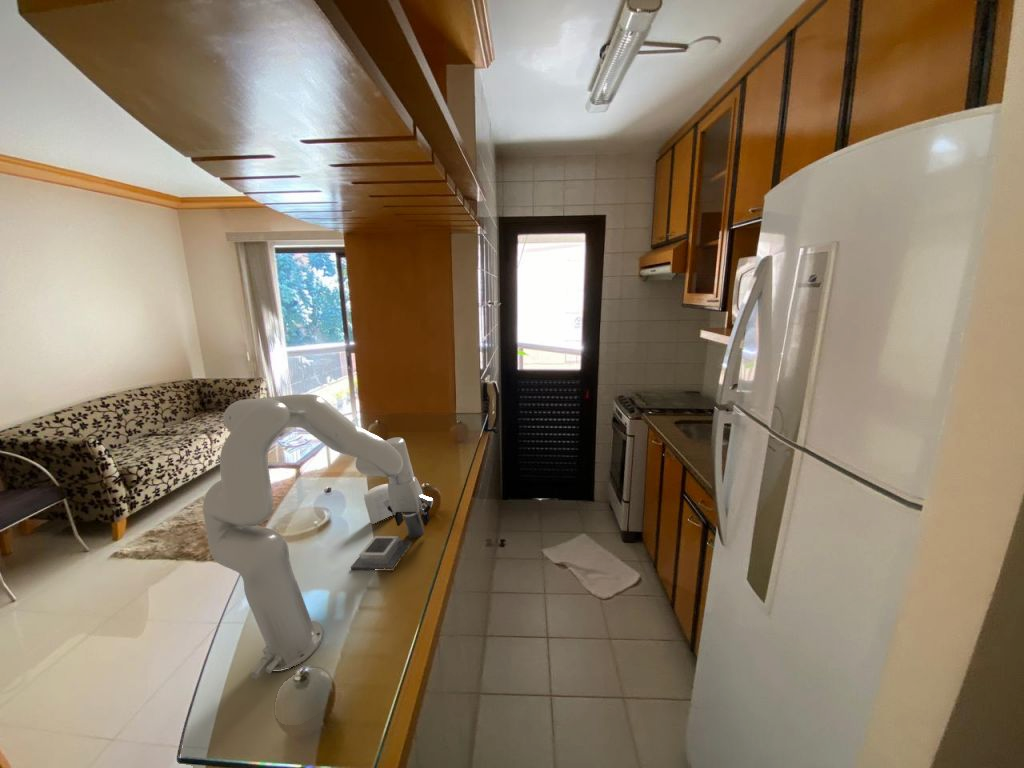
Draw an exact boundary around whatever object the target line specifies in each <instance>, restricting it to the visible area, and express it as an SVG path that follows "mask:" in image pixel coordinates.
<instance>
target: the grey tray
mask: <svg viewBox="0 0 1024 768" xmlns="http://www.w3.org/2000/svg"><path fill="white" fill-rule="evenodd" d="M411 543H412V544H413V540H400V536H398V535H375V536H374V537H373V538H372V539H371V540H370V541H369V542H368V544H367V545H366V546H365V547H364V548H363V549H362V551H361V552H360V553H359V556H358V558H357V559H356V560H355V561H354V563H352V565H351V566H350V570H351V571H370V570H375V569H384V568H385V569H393V568H394V566H395V565H396V563H397V562H398V561H399V559H400V558H401V557H402V555H403V554H404V553H405V551H406V550H407V549H408V547H409V546H410V545H411ZM411 546H412V545H411ZM411 546H410V547H411ZM410 547H409V548H410ZM408 550H409V549H408ZM408 550H407V551H408ZM405 554H406V553H405Z"/></svg>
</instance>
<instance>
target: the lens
mask: <svg viewBox="0 0 1024 768" xmlns="http://www.w3.org/2000/svg"><path fill="white" fill-rule="evenodd" d="M420 513H421V512H420V511H416V512H402V516H403V519H404V523H405V528H406V530H407V533H408V537H409V538H410V537H412V538H411V539H417V538H419V536H420V537H421V536H422V535H423V534H424V533H425V529H424V524H423V520H422V516H421V514H420ZM416 537H417V538H416Z"/></svg>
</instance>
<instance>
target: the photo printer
mask: <svg viewBox="0 0 1024 768" xmlns="http://www.w3.org/2000/svg"><path fill="white" fill-rule="evenodd" d="M363 496H364V497H363V499H364V504H365V507H366V510H367V514H368V518H369V522H370V523H371V525H375V523H376V524H378V523H379V522H378V521H380V520H383V519H385V518H387V517H389V516H392V512H390V511H389V510H388V509H387V507H386V506H385V505H384V501H385V500H387V499H388V498H389V495H388V483H385V484H384V483H383V484H380V485H377V486H374V487H373V488H370V489H369V490H367V491H366V492H365V493H363ZM392 517H393V516H392ZM387 519H388V518H387ZM385 520H386V519H385ZM383 521H384V520H383ZM377 522H378V523H377Z"/></svg>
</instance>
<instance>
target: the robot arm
mask: <svg viewBox="0 0 1024 768" xmlns="http://www.w3.org/2000/svg"><path fill="white" fill-rule="evenodd" d="M222 419H223V420H222V421H223V425H224V427H225V428H226V429H227V430H228V431H229V432H230V433H229V435H228V436H227V438H226V439H225V441H224V442H223V443H224V444H223V445H222V448H221V451H220V454H219V455H220V456H219V469H220V471H219V472H220V479H221V480H218V481H217V482H215V483H213V485H211V487H210V488H209V489H208V490H207V492H206V493H205V496H204V499H203V503H202V505H203V506H202V512H203V520H204V524H205V525H204V527H205V532H206V537H207V543H208V548H209V552H210V554H211V556H212V558H213V560H214V561H215V562H216V563H217V564H219V565H221V566H223V567H224V568H228V569H230V570H232V571H234V572H236V573H238V574H239V575H240V576H241V578H242V581H243V588H244V589H243V591H244V595H245V598H246V600H247V604H248V606H249V608H250V610H251V612H252V614H253V617H254V620H255V622H256V624H257V627H258V629H259V632H260V633H261V636H262V639H263V641H264V644H265V647H264V648H263V649H262V653H263V656H262V657H261V661H260V662H259V663H258V664H257V665H256V666H255V667H254V668H253V669H252V671H250V676H251V677H252V678H253V679H256V680H257V679H258V678H260V676H261V675H262V674H263V673H264V672H266V673H267V674H271V673H272V671H273V670H281V669H285V668H290V667H293V666H295V667H297V666H299V665H301V662H302V663H303V662H304V661H306V660H307V659H308V658H309V657H310V656H311V655H312V654H313V653H314V652H315V651H316V650H317V649H318V648H319V646H320V644H321V642H322V640H323V637H324V629H323V626H322V625H321V623H319V622H318V621H314V620H312V618H311V616H310V613H309V610H308V608H307V605H306V603H305V600H304V597H303V595H302V592H301V590H300V587H299V584H298V581H297V579H296V576H295V573H294V571H293V567H292V564H291V560H290V559H291V558H290V551H289V545H288V543H287V540H286V539H285V537H284V536H283V535H282V534H281V533H279V532H278V531H276V530H274V529H271V528H268V527H264V526H260V525H261V524H263V523H264V522H265V521H267V520H268V519H269V518H270V516H271V515H272V512H273V509H274V496H273V489H272V483H271V477H270V469H269V458H268V457H269V452H270V450H271V448H272V445H273V444H274V442H275V441H276V439H277V438H278V437H279V436H280V435H281V434H282V433H283V432H285V430H286V429H287V428H288V429H289V428H297V429H298V428H300V429H303V430H304V431H306V432H307V433H308V434H310V435H312V436H313V437H314V438H316V439H317V440H318V441H320V442H321V443H323V444H324V445H325V446H327V447H328V448H329V449H331V450H333V451H335V452H337V453H339V454H343V455H347V456H349V457H350V456H351V457H354V458H356V459H355V468H356V469H357V472H359V473H361V474H363V475H366V476H373V477H374V476H376V477H382V478H386V479H387V478H388V481H389V482H387V484H388V495H389V498H388V499H387V500H385V501H384V505H385V506H386V507H387V509H388V510H389V511H390V512H392V515H394V516H393V517H394V521H395V523H396V526H397V527H400V526H401V525H402V524H403V523H404V522H405V520H404V516H403V513H402V512H416V511H419V513H421V520H422V524H423V527H424V526H425V527H427V525H428V524H429V523H430V521H431V515H430V509H431V508H432V506H433V504H434V499H433V498H432V497H429V496H426V495H424V493H423V490H422V488H421V487H422V486H421V485H420V482H419V480H418V478H417V477H416V476H415V475H414V474H415V473H414V471H413V467H412V463H411V459H410V456H409V451H408V448H407V444H406V441H405V440H406V439H404V438H402V437H399V436H398V437H397V436H396V437H392V438H388V439H386V440H385V439H383V438H382V437H380V436H378V435H376V434H375V433H372V432H370V431H368V430H366V429H364V428H363V427H361V426H360V425H359V426H358V425H357V424H355V423H354V422H352V421H351V420H350V419H349V418H348V417H346V416H345V415H344V414H343V413H342V412H340V411H339V410H338V409H336V407H334V406H333V405H332V404H331V403H329V402H328V400H326V399H325V398H323V397H321V396H320V395H317V394H310V393H309V394H308V393H307V394H304V393H303V394H288V395H287V394H286V395H278V396H271V397H259V398H258V397H257V398H248V399H247V398H246V399H240V400H236V401H235V402H232V403H231V404H230V405H229V406H228V407H227V408H226V409H225V410H224V412H223V417H222ZM298 664H299V665H298ZM296 665H297V666H296ZM293 668H294V667H293Z"/></svg>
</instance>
